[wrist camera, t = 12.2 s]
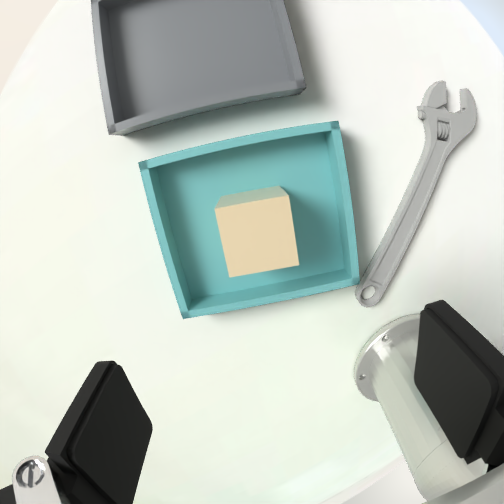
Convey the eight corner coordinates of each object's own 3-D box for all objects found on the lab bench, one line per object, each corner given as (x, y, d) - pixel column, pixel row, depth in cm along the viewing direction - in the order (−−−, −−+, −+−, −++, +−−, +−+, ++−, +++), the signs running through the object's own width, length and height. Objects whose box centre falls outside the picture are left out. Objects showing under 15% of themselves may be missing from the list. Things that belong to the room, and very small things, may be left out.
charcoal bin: (265, -32, 20) (267, -48, 17) (299, 93, 25) (306, 87, 22) (103, 10, 21) (90, -1, 18) (122, 135, 25) (108, 134, 22)
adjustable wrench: (368, 304, 32) (374, 312, 30) (319, 280, 31) (323, 287, 29) (473, 106, 25) (483, 105, 23) (432, 68, 24) (441, 65, 22)
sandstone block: (279, 185, 26) (288, 195, 21) (288, 241, 28) (299, 265, 22) (221, 196, 27) (214, 208, 21) (232, 251, 28) (229, 277, 23)
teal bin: (328, 123, 25) (338, 120, 23) (349, 271, 30) (359, 283, 27) (149, 161, 26) (138, 162, 23) (188, 303, 30) (182, 318, 28)
